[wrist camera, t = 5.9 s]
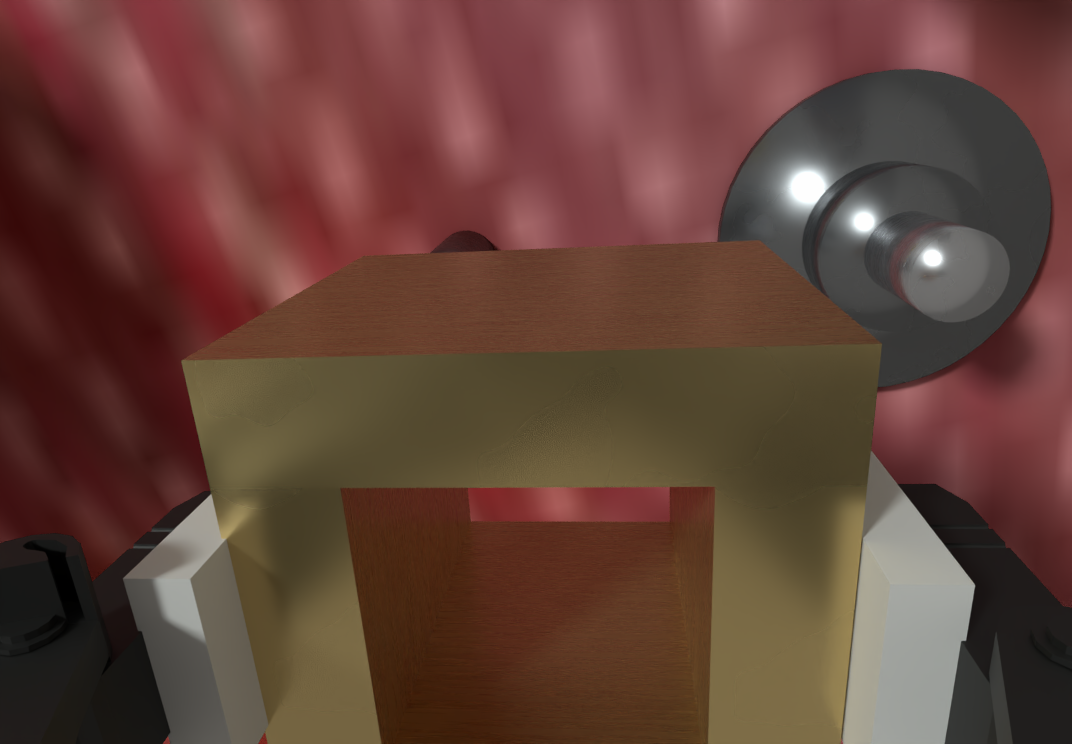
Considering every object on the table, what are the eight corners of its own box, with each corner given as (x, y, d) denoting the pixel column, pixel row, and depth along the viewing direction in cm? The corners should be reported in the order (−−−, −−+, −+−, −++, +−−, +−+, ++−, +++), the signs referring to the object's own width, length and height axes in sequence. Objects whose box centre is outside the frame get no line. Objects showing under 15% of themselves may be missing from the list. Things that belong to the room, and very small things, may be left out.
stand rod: (441, 290, 30) (395, 345, 23) (435, 232, 30) (384, 271, 22) (499, 287, 30) (469, 342, 23) (493, 228, 29) (461, 267, 22)
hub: (715, 388, 31) (747, 463, 24) (718, 83, 27) (758, 75, 20) (1016, 377, 30) (1135, 453, 23) (1066, 56, 26) (1228, 39, 19)
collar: (407, 583, 16) (292, 849, 10) (363, 255, 13) (181, 360, 8) (744, 586, 15) (827, 877, 9) (759, 239, 12) (881, 344, 7)
